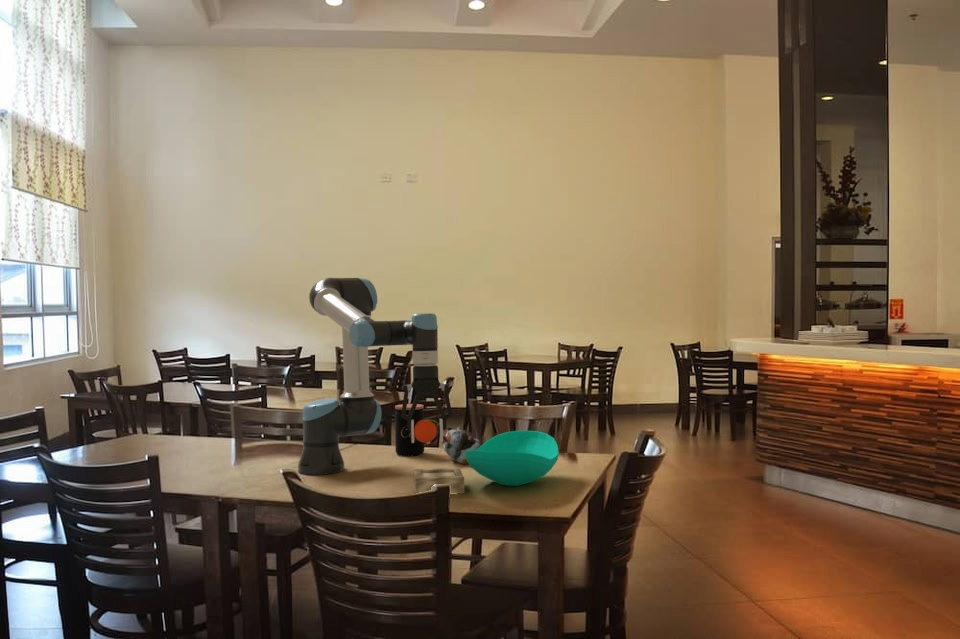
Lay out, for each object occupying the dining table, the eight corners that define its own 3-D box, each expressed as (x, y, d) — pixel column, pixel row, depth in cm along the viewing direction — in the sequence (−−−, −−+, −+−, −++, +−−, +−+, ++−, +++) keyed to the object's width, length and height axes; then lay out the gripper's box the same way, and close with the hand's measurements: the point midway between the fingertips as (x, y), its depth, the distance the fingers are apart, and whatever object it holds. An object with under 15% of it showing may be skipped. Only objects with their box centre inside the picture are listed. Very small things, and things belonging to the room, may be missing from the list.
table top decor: (489, 468, 265) (489, 429, 265) (570, 473, 257) (570, 432, 256) (447, 495, 228) (446, 449, 228) (540, 501, 219) (540, 454, 219)
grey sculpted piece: (475, 466, 269) (455, 431, 268) (448, 476, 275) (428, 442, 274) (492, 446, 282) (473, 413, 281) (466, 457, 288) (447, 424, 287)
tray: (415, 495, 228) (415, 479, 228) (414, 484, 242) (413, 469, 242) (464, 493, 229) (464, 477, 229) (459, 483, 243) (459, 467, 243)
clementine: (442, 440, 238) (441, 417, 238) (438, 444, 231) (437, 419, 231) (416, 441, 239) (415, 417, 239) (411, 444, 232) (411, 420, 232)
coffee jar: (399, 457, 286) (398, 408, 286) (392, 452, 297) (392, 404, 296) (427, 455, 290) (427, 406, 290) (420, 450, 300) (419, 403, 300)
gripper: (390, 366, 231) (392, 444, 231) (461, 364, 233) (462, 442, 233) (390, 365, 238) (392, 441, 238) (459, 363, 240) (461, 438, 240)
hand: (427, 441), depth 235 cm, fingers closed on clementine, 8 cm apart
